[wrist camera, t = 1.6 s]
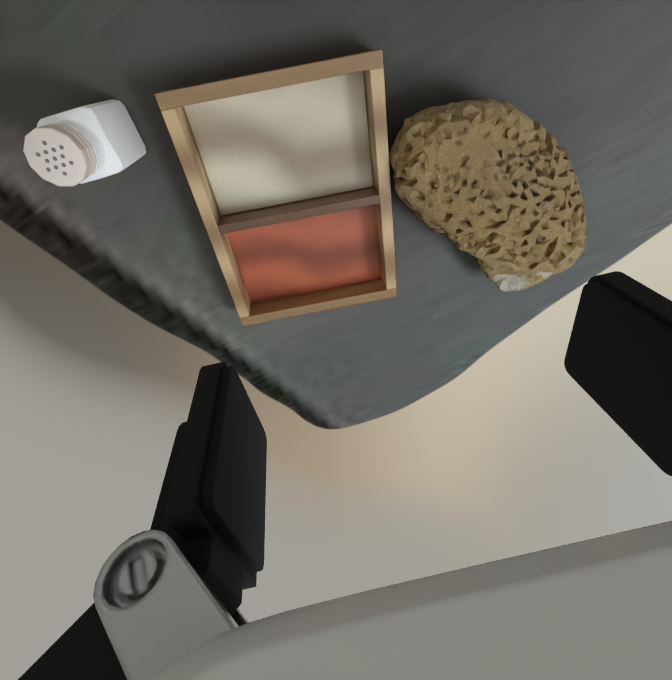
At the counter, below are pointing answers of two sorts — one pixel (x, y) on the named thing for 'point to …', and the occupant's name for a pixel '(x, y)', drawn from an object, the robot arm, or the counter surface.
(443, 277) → the counter surface
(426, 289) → the counter surface
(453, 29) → the counter surface
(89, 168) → the salt shaker
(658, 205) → the counter surface
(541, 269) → the sponge
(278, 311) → the tray
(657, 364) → the robot arm
